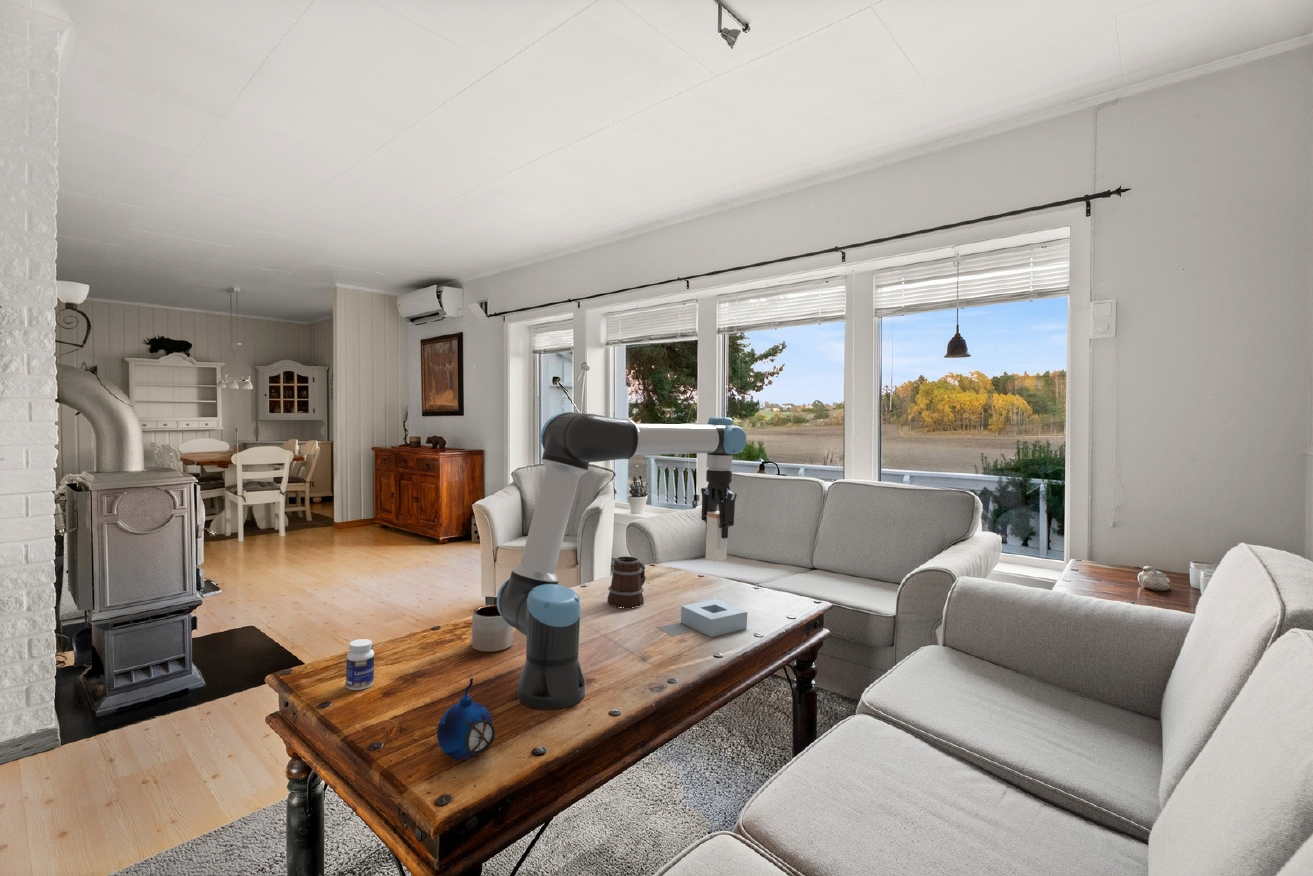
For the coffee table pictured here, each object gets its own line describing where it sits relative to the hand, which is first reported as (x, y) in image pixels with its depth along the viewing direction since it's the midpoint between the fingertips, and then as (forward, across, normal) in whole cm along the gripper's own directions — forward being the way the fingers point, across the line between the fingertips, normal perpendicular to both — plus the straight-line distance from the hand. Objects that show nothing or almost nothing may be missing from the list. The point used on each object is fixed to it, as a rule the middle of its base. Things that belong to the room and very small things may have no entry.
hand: (716, 546), depth 184 cm
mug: (+25, +34, +8) cm, 43 cm away
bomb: (+25, -29, +84) cm, 92 cm away
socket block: (+25, 0, 0) cm, 25 cm away
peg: (+4, 0, 0) cm, 4 cm away
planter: (+25, +20, +61) cm, 69 cm away
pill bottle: (+25, +12, +95) cm, 99 cm away
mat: (+25, +3, +12) cm, 28 cm away
